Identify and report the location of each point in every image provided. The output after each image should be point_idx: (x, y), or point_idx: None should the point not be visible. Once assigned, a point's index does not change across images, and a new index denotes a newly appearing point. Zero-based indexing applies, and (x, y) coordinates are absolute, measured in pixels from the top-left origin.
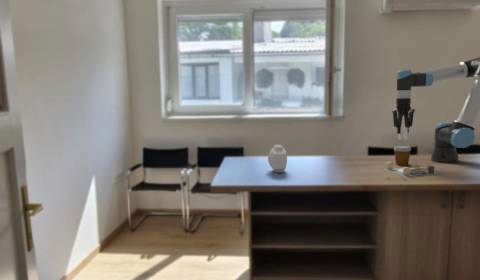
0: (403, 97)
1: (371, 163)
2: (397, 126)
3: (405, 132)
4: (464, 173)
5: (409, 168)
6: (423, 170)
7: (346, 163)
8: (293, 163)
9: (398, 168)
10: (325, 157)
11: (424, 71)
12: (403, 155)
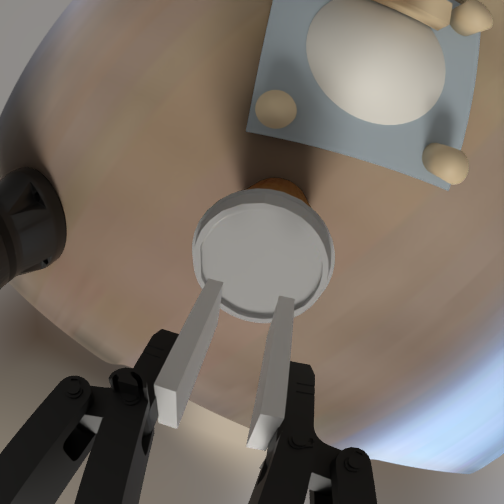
0: None
1: (329, 344)
2: (355, 454)
3: (199, 350)
4: None
5: (448, 12)
6: None
7: (401, 381)
8: (481, 419)
9: (380, 145)
10: None
11: None
12: (299, 198)
